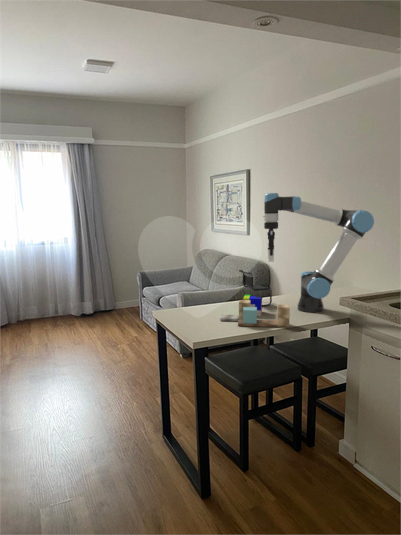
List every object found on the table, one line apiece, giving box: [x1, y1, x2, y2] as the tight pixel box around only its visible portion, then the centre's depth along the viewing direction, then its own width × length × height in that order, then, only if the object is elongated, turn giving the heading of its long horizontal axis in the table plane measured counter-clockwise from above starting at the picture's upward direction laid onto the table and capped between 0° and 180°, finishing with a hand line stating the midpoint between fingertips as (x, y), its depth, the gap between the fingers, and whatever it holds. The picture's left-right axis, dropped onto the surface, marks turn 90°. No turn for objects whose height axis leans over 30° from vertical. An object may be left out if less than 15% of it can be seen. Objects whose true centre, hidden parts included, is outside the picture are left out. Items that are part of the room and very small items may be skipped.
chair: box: [238, 269, 273, 308], centre depth 252 cm, size 13×17×22 cm
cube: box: [243, 307, 258, 324], centre depth 209 cm, size 7×7×7 cm
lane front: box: [237, 304, 291, 328], centre depth 208 cm, size 26×8×10 cm, turn 81°
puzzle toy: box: [242, 294, 263, 317], centre depth 231 cm, size 10×10×10 cm
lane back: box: [219, 299, 250, 322], centre depth 219 cm, size 16×8×10 cm, turn 81°
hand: (270, 260), depth 223 cm, fingers open, 13 cm apart
